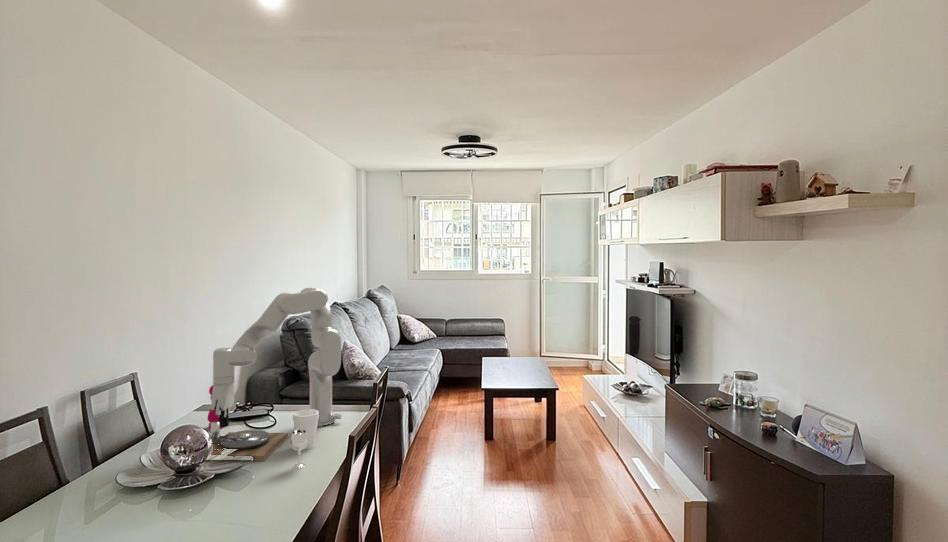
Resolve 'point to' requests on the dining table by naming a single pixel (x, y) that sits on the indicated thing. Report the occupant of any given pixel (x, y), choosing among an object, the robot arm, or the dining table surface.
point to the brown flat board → (256, 452)
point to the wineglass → (299, 445)
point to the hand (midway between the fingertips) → (223, 426)
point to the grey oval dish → (238, 438)
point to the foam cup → (307, 424)
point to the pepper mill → (212, 412)
